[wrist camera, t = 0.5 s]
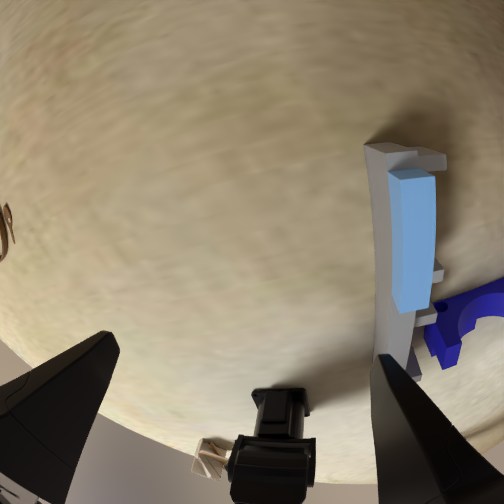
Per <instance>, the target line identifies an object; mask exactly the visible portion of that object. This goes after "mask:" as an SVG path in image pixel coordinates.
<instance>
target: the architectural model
mask: <svg viewBox="0 0 504 504" xmlns="http://www.w3.org/2000/svg"><path fill="white" fill-rule="evenodd" d="M226 452H227V450H224V449H221V448H218V447H216V446H215V445H214V443H213V442H211V443H209V444H207V443H205V442H203V438H202V439H201V440H199V443H198V446H197V450H196V453H195V459H194V462H193V465H192V469H191V472H193V473H196V474H198V475H202V476H204V477H208V478H211V479H214V480H217V481H219V480H220V478H221V472H222V468H223V469H225V465H226V463H227V461H228V459H227V458H225V456H226ZM223 466H224V467H223Z"/></svg>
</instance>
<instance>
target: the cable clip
mask: <svg viewBox="0 0 504 504" xmlns="http://www.w3.org/2000/svg"><path fill="white" fill-rule="evenodd" d="M432 304H433V306H434V308H435V309H436V311H437V318H436V323H432V324H427V325H425V328H424V340H425V342H426V344H427V347H428V349H429V352H430V354H431V357H432V356H435V355H437V358H438V360H439V363H440V365H441V368H442V370H444V369H447V368H449V367H452V366H455V365H457V361H458V357H459V353H460V349H461V345H462V341H461V338H462V337H463V336H464V335H465V334H467V333H468V332H470V331H472V330H474V329H475V324H476V319H478V318H481V317H485V316H500V317H504V277H503V278H501V279H499V280H496V281H494V282H491V283H489V284H486V285H483V286H481V287H478V288H476V289H473V290H470V291H467V292H465V293H462V294H459V295H456V296H453V297H450V298H447V299H444V300H441V301H438V302H435V303H432Z"/></svg>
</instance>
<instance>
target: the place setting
mask: <svg viewBox="0 0 504 504" xmlns="http://www.w3.org/2000/svg"><path fill="white" fill-rule="evenodd" d="M3 211H4V217H5V220H6V222H7V224H8V226H9V229H10V232H11V236H12V239H13V242H14V244H15V240H14V236H13V232H12V217H11V214H10V211H9V209H8V207H7V206H5V205H4V208H3ZM8 218H10V221H11V223H9V221H8ZM0 235H1V240H2V255H0V262H1V261H2V260H3V259H4V257H5V255H6V252H7V236H6V230H5V226H4V222H3V219H2V216H1V213H0Z"/></svg>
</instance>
